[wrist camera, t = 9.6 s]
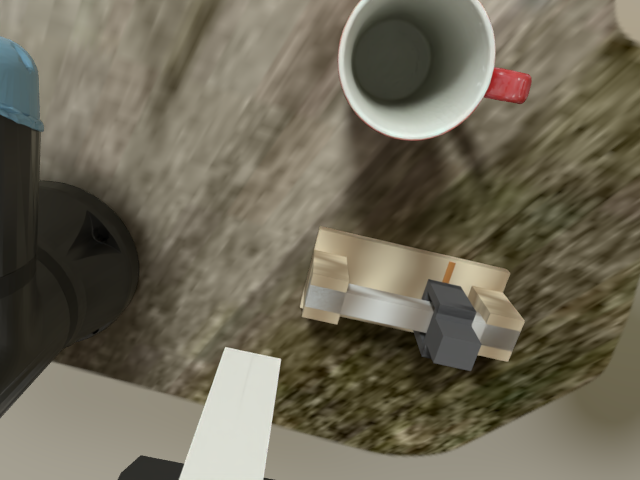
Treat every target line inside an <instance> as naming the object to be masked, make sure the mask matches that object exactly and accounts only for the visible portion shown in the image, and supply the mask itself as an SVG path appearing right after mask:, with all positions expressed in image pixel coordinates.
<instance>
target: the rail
mask: <svg viewBox="0 0 640 480" xmlns="http://www.w3.org/2000/svg"><path fill="white" fill-rule="evenodd" d="M509 276H510V272H509V271H508V270H507V269H504V268H499V267H495V266H491V265H486V264H482V263H478V262H474V261H469V260H465V259H461V258H456V257H452V256H448V255H443V254H439V253H435V252H430V251H426V250H422V249H417V248H413V247H409V246H404V245H400V244H396V243H391V242H387V241H383V240H378V239H374V238H370V237H365V236H361V235H357V234H352V233H348V232H344V231H340V230H335V229H331V228H327V227H322V226H320V227H319V231H318V235H317V239H316V242H315V246H314V250H313V254H312V258H311V262H310V266H309V270H308V274H307V278H306V282H305V286H304V290H303V294H302V298H301V302H300V308H303V312H302V317H305V318H310V319H314V320H319V321H323V322H328V323H332V324H337V323H338V320H339V316H340V317H345V318H350V319H354V320H359V321H363V322H368V323H372V324H377V325H381V326H386V327H391V328H395V329H400V330H404V331H409V332H413V330H415V331H419V332H424V333H427V330H428V327H429V324H430V321H431V319H432V316H433V313H434V310H435V307H434V305H433V302H430V301H425V300H421V299H422V296H423V293H424V290H425V287H426V284H427V281H428V279H431V280H435V281H439V282H444V283H448V284H453V285H457V286H461V287H462V289H463V291H464V292H465V294H466V296H467V297H468V299H469V301H470V302H471V304H472V306H473V307H474V309H475V310H476V312H477V313H476V315H475V318H474V320H473V323H472V328H473V330H474V331H475V333H476V335H477V337H478V339H479V340H480V342H481V344H482V345H481V347H480V350H479V352H478V355H479V356H484V357H488V358H493V359H498V360H502V361H507V362H508V360H509V358H510V355H511V353H512V350H513V348H514V346H515V343H516V341H517V339H518V336H519V334H520V331H521V329H522V327H523V324H524V322H525V321H524V319H523V318H522V317H521V316H520V314H519V313H518V312H517V310H516V309H515V308H514V307H513V305H512V304H511V303H510V301H509V300H508V299H507V298H506V296H505V295H504V294H503V291H504V288H505V286H506V283H507V281H508V278H509ZM413 333H414V332H413Z"/></svg>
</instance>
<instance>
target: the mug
mask: <svg viewBox="0 0 640 480" xmlns="http://www.w3.org/2000/svg"><path fill="white" fill-rule="evenodd" d="M495 52H496V51H495V37H494V32H493V27H492V24H491V21H490V18H489V16H488V14H487V12H486V10H485V9H484V7H483V5H482V4H481V2H480V1H479V0H360V2H359V3H358V4H357V5H356V7H355V8H354V10H353V11H352V13H351V14H350V16H349V18H348V20H347V22H346V24H345V27H344V29H343V31H342V35H341V38H340V43H339V49H338V74H339V79H340V83H341V87H342V90H343V92H344V95H345V98H346V99H347V102H348V104H349V105H350V106H351V108H352V110H353V111H354V112H355V114H356V115H357V116H358V117H359V118H360V119H361V120H362V121H363V122H364V123H365V124H366V125H368V126H369V127H370V128H372V129H373V130H375V131H377V132H379V133H380V134H383V135H385V136H388V137H391V138H394V139H399V140H407V141H419V140H426V139H431V138H434V137H437V136H440V135H443V134H445V133H447V132H449V131H451V130H452V129H454V128H455V127H457V126H458V125H460V124H461V123H462V122H463V121H465V120H466V119H467V118H468V117H469V116H470V115H471V114H472V113H473V111H474V110H475V109H476V108H477V106H478V105H479V103H480V102H481V100H482V99H483V97H485V98H490V99H495V100H500V101H506V102H513V103H518V104H522V103H523V102H524V101H525V100H526V99H527V97H528V94H529V90H530V86H531V76H530V75H529V74H525V73H521V72H516V71H512V70H506V69H502V68H496V67H494V65H495Z"/></svg>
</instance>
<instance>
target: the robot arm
mask: <svg viewBox="0 0 640 480" xmlns="http://www.w3.org/2000/svg"><path fill="white" fill-rule="evenodd" d="M43 131H44V125H43V123H42V121H41V120H40V106H39V76H38V70H37V67H36V65H35V63H34V60H33V59H32V58H31V56H30V55H29V53H28V52H27V51H26V50H25V49H23V48H22V47H21V46H20V45H18V44H17V43H15V42H13V41H11V40H9V39H6V38H4V37H1V36H0V418H1V417H2V416H3V415H4V413H5V412H6V411H7V410H8V409H9V408H10V407H11V406H12V405H13V403H14V402H15V401H16V400H17V399H18V398H19V397H20V396H21V395H22V394H23V392H24V391H25V390H26V389H27V388H28V387H29V386H30V385H31V384H32V382H33V381H34V380H35V379H36V378H37V377H38V376H39V375H40V373H42V371H43V370H44V369H45V368H46V367H47V366H48V365H49V364H50V363H51V362H52V360H53V359H54V358H55V357H56V356H57V355H58V354H59V353H60V352H61V350H62V349H64V348H66V347H68V346H70V345H72V344H74V343H75V342H78V341H81V340H84V339H87V338H90V337H92V336H94V335H96V334H98V333H100V332H101V331H103V330H104V329H106V328H107V327H108V326H110V325H111V324H112V323H113V322H114V321H115V320H116V319H117V318H118V317H119V315H120V314H121V313H122V312H123V310H124V309H125V308H126V307H127V305H128V304H129V303H130V301H131V299H132V297H133V295H134V293H135V290H136V287H137V283H138V276H139V263H138V256H137V252H136V248H135V245H134V242H133V240H132V238H131V236H130V234H129V232H128V230H127V228H126V227H125V225H124V224H123V222H122V221H121V220H120V218H119V217H118V216H117V215H116V214H115V213H114V212H113V211H112V210H111V209H110V208H109V207H108V206H107V205H106V204H104V203H103V202H102V201H101V200H99V199H98V198H96V197H95V196H93V195H91V194H90V193H88V192H86V191H84V190H82V189H79V188H77V187H74V186H71V185H68V184H64V183H59V182H52V181H39V174H40V142H41V132H43ZM280 363H281V359H279V358H274V357H269V356H265V355H260V354H255V353H250V352H246V351H241V350H236V349H232V348H227V347H225V349H224V352H223V355H222V358H221V361H220V364H219V367H218V369H217V372H216V375H215V378H214V381H213V384H212V387H211V389H210V392H209V395H208V398H207V401H206V404H205V407H204V409H203V412H202V415H201V418H200V421H199V424H198V427H197V429H196V432H195V435H194V438H193V441H192V444H191V447H190V449H189V452H188V455H187V458H186V461H185V464H182V463H177V462H172V461H167V460H162V459H156V458H152V457H147V456H140V457H138V458H137V459H136V460H135V461H134V462H133V463H132V464H131V465H129V466H128V467H127V468H126V469H125V470H124V471H123V472H121V474H120V476H119V479H118V480H273V479H268V478H264V471H265V464H266V457H267V451H268V443H269V437H270V429H271V424H272V417H273V410H274V403H275V397H276V390H277V383H278V376H279V369H280Z"/></svg>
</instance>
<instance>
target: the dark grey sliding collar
mask: <svg viewBox="0 0 640 480" xmlns="http://www.w3.org/2000/svg"><path fill="white" fill-rule="evenodd" d="M421 300H425V301H430V302H433V305H434V307H435V310H434V313H433V316H432V319H431V321H430V324H429V327H428V330H427V333H424V332H419V331H415V330H413V332H414V335H415V338H416V341H417V344H418V347H419V350H420V353H421V356H422V357H426V358H431V359H432V360H433V363H436V364H441V365H445V366H450V367H454V368H459V369H464V370H468V371H471V370H472V367H473V365H474V362H475V360H476V357H477V355H478V352H479V350H480V347H481V345H482V344H481V342H480V340H479V339H478V337H477V335H476V333H475V331H474V330H473V328H472V323H473V320H474V318H475V315H476V313H477V312H476V310H475V309H474V307H473V306H472V304H471V302H470V301H469V299H468V297H467V296H466V294H465V292H464V291H463V289H462V287H461V286H457V285H453V284H448V283H444V282H439V281H435V280H431V279H428V281H427V284H426V287H425V290H424V293H423V296H422V299H421Z"/></svg>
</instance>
